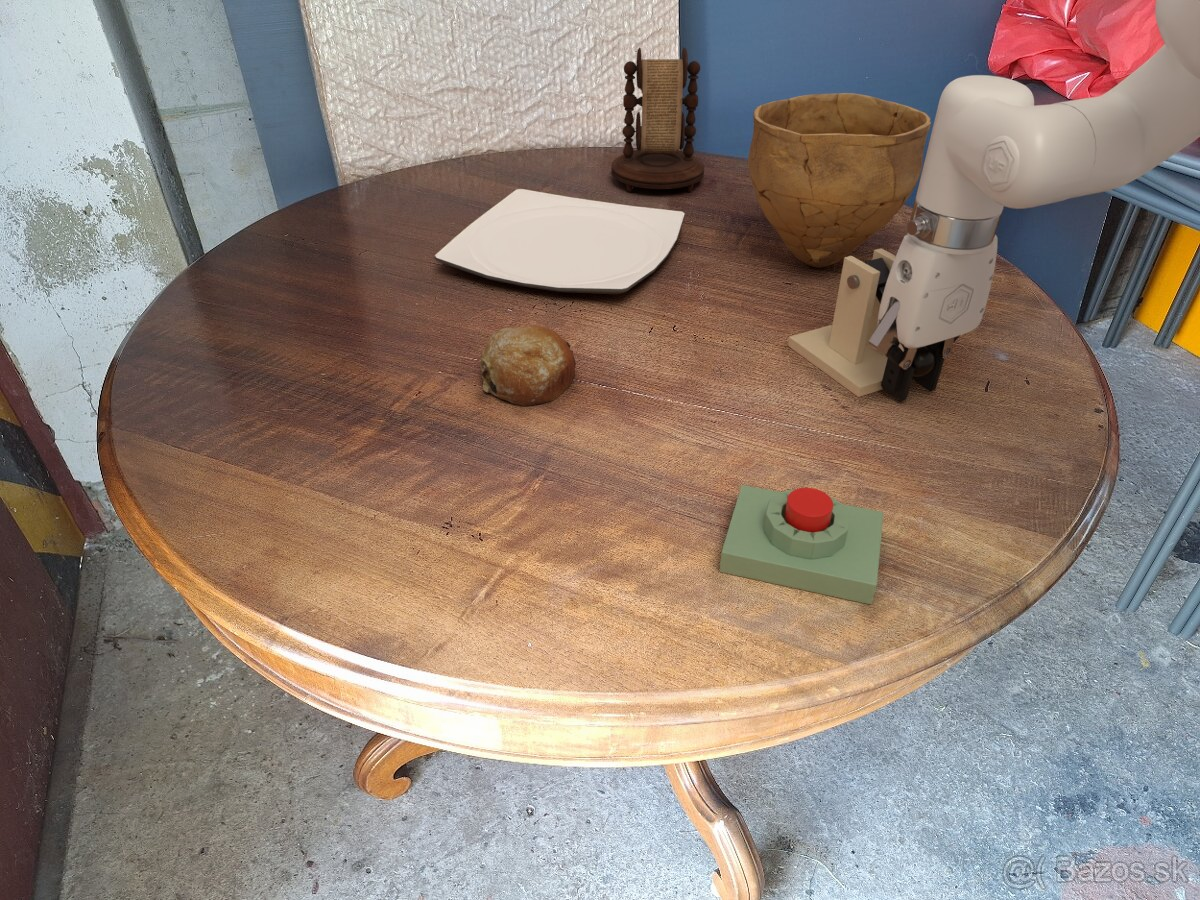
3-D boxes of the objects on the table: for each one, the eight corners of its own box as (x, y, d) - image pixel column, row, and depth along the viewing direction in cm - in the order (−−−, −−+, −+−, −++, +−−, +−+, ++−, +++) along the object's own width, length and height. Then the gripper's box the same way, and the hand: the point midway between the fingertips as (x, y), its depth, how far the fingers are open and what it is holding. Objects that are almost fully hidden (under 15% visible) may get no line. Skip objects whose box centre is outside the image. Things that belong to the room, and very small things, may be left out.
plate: (632, 316, 107) (632, 296, 105) (420, 278, 115) (418, 259, 113) (695, 227, 128) (697, 210, 127) (514, 201, 136) (513, 184, 135)
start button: (832, 508, 73) (835, 492, 72) (827, 537, 70) (831, 520, 69) (787, 500, 74) (790, 483, 73) (781, 527, 71) (784, 511, 70)
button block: (878, 531, 76) (888, 494, 74) (871, 605, 69) (881, 567, 67) (739, 503, 79) (743, 467, 77) (718, 572, 72) (723, 535, 70)
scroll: (613, 198, 137) (615, 60, 125) (609, 166, 149) (610, 36, 137) (709, 198, 138) (720, 60, 126) (697, 165, 149) (706, 36, 137)
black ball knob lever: (927, 377, 92) (946, 364, 89) (904, 385, 91) (922, 371, 88) (871, 270, 95) (888, 253, 92) (848, 276, 94) (864, 259, 91)
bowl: (725, 288, 113) (740, 127, 101) (750, 227, 128) (766, 81, 116) (895, 311, 108) (932, 144, 96) (900, 245, 124) (932, 95, 112)
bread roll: (479, 400, 98) (446, 354, 92) (542, 337, 101) (515, 288, 95) (536, 439, 93) (506, 392, 86) (602, 371, 95) (577, 321, 89)
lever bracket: (930, 374, 96) (956, 273, 89) (858, 397, 93) (879, 294, 86) (856, 326, 105) (875, 230, 98) (787, 345, 101) (801, 248, 94)
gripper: (914, 256, 76) (870, 429, 87) (1049, 221, 82) (992, 387, 93) (856, 223, 81) (822, 390, 93) (987, 193, 87) (940, 353, 99)
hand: (908, 387), depth 93 cm, fingers closed on black ball knob lever, 3 cm apart
